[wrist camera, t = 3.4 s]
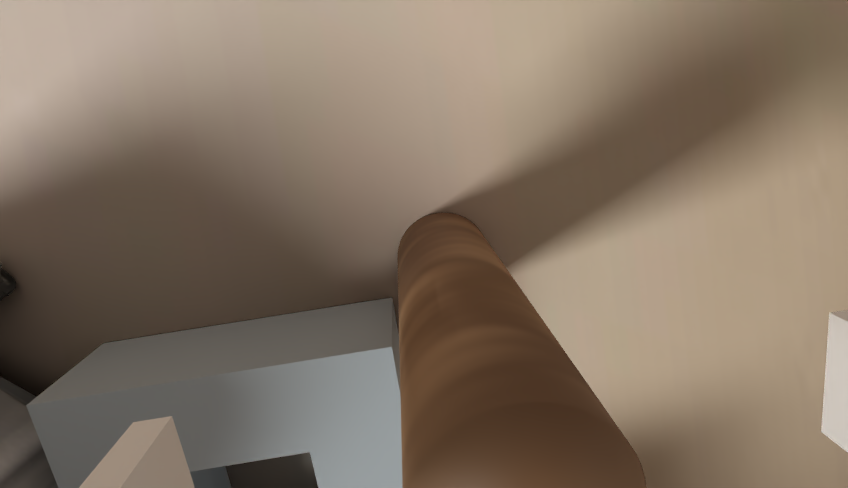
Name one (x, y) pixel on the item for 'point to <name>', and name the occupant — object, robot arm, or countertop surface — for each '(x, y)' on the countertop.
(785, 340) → the countertop surface
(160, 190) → the countertop surface
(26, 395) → the toaster
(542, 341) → the peg
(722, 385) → the countertop surface
